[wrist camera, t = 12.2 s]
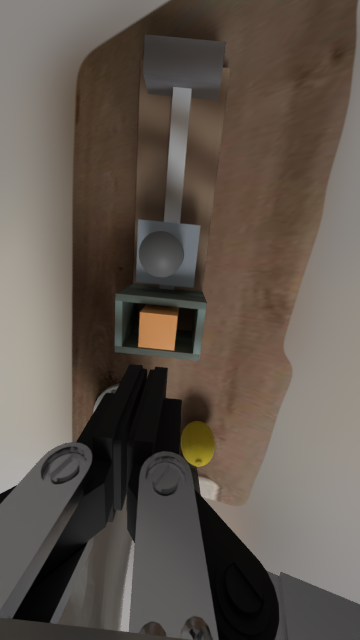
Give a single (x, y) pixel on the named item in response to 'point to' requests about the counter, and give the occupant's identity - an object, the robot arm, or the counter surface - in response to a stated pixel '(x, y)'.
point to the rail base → (194, 171)
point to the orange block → (158, 327)
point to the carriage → (167, 253)
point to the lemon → (197, 443)
